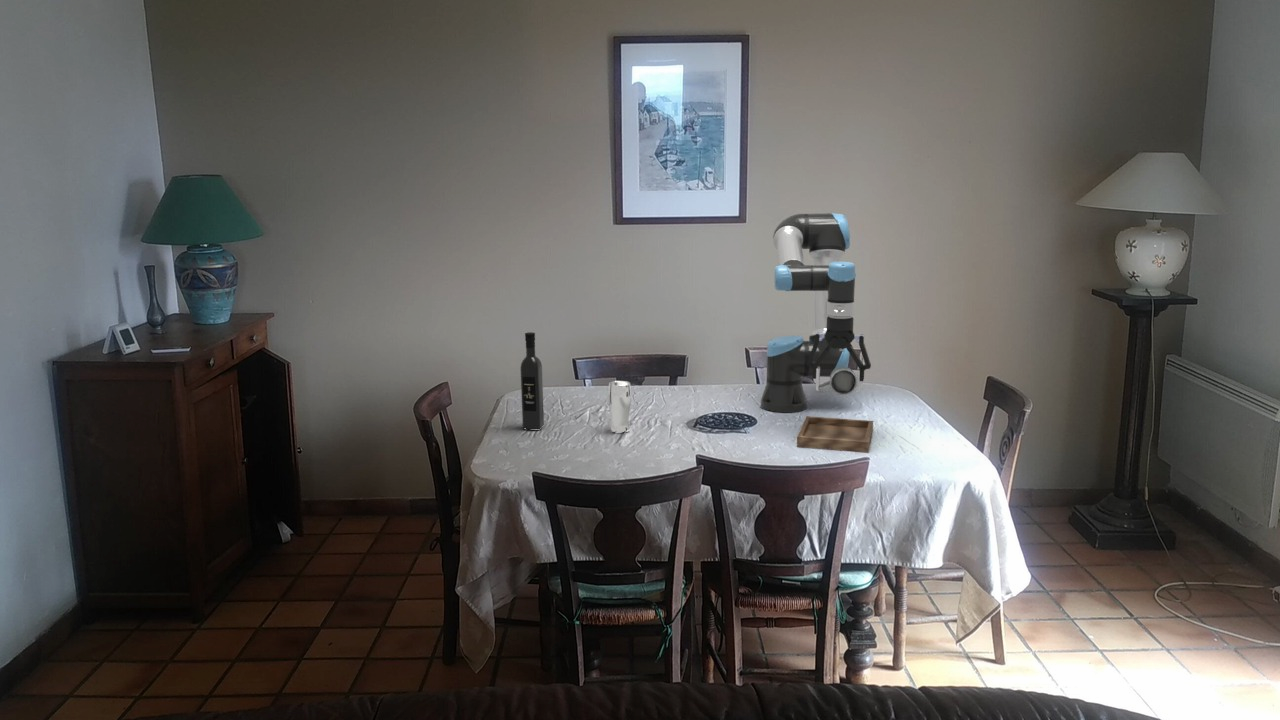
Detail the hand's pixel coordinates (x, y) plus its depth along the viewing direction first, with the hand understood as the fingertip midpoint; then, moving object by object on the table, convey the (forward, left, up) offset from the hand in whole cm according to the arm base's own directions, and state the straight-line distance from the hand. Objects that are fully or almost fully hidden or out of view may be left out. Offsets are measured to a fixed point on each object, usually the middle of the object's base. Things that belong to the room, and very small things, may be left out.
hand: (837, 390), depth 273 cm
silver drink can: (-64, -9, -15) cm, 66 cm away
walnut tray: (0, 0, -15) cm, 15 cm away
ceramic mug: (0, 0, -1) cm, 1 cm away
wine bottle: (-91, -13, -15) cm, 93 cm away
